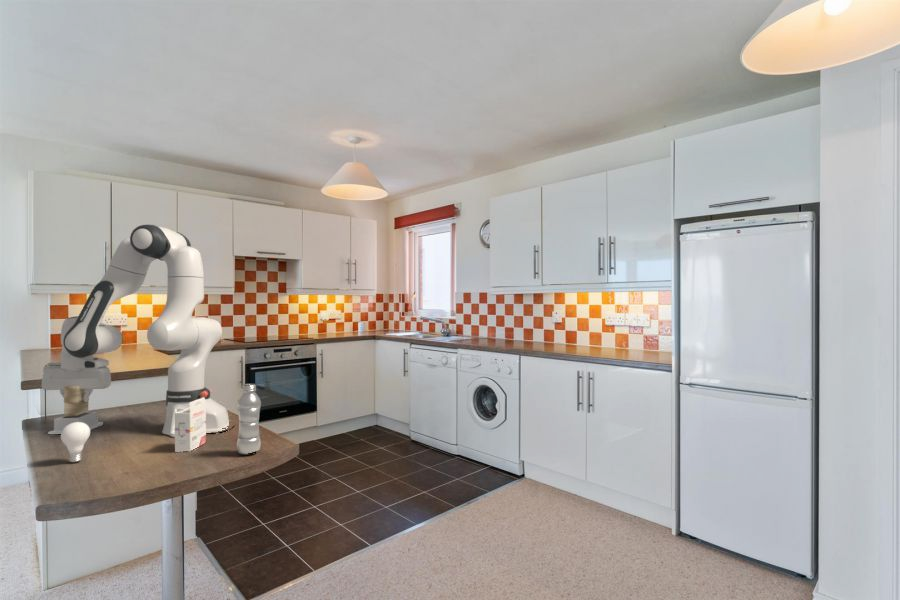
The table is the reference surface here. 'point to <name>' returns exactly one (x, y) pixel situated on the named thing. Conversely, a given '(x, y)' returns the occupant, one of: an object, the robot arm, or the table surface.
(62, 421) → the cartridge dock
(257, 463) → the table surface
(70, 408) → the birch peg block
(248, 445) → the plastic bottle
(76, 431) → the lightbulb
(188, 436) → the ink cartridge box
